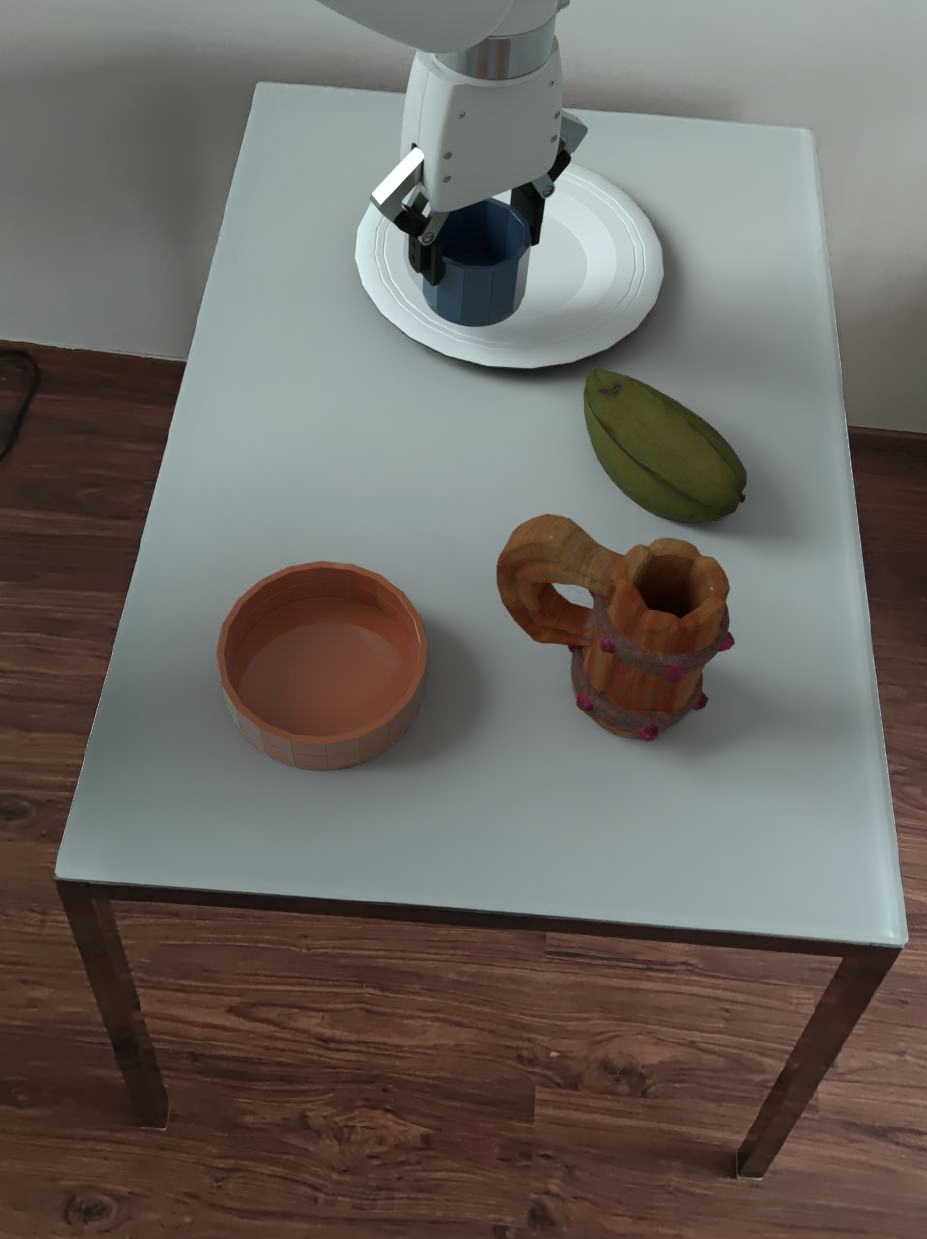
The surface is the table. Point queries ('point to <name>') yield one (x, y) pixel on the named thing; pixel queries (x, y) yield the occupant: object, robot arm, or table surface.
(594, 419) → the fruit
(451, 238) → the small bowl
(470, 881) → the table surface
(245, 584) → the table surface
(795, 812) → the table surface
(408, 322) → the plate
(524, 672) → the table surface
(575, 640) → the mug
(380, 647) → the big bowl
